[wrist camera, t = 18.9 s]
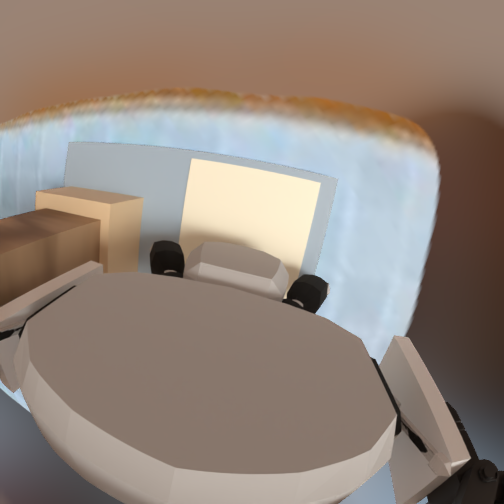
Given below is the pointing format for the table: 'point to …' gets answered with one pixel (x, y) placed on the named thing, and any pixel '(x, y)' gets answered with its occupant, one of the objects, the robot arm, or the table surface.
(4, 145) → the table surface
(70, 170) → the board
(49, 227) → the walnut block
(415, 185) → the table surface
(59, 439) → the robot toy
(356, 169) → the table surface
